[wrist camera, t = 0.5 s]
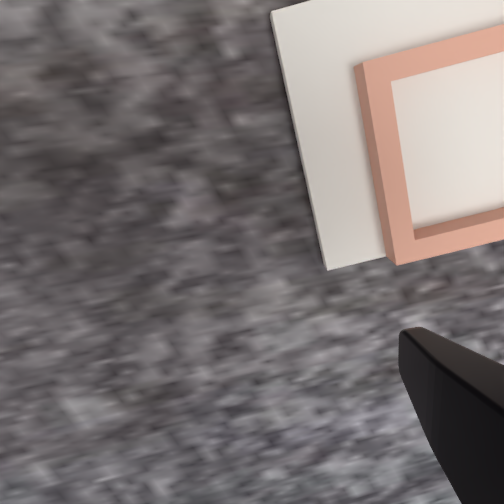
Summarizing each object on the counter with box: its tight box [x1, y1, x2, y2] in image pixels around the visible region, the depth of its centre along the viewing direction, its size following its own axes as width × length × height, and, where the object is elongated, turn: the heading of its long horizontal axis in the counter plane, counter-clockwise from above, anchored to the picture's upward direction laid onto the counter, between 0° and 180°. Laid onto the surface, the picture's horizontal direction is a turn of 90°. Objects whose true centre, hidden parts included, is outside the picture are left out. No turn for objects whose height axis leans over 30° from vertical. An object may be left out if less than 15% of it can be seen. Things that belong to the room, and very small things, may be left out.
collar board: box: [270, 0, 504, 271], centre depth 20 cm, size 12×12×2 cm
